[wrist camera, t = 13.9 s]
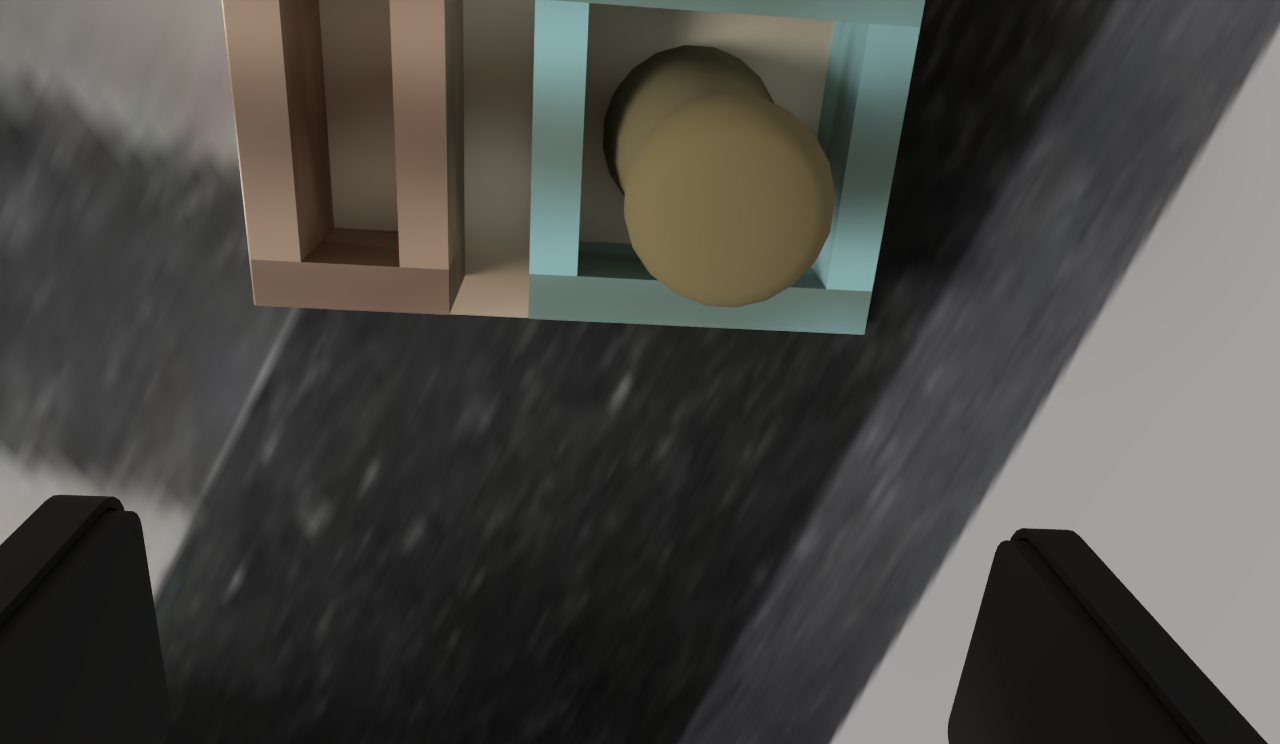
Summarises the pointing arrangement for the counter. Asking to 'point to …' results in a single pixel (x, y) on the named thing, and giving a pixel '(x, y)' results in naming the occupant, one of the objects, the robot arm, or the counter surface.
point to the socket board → (532, 150)
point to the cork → (716, 178)
